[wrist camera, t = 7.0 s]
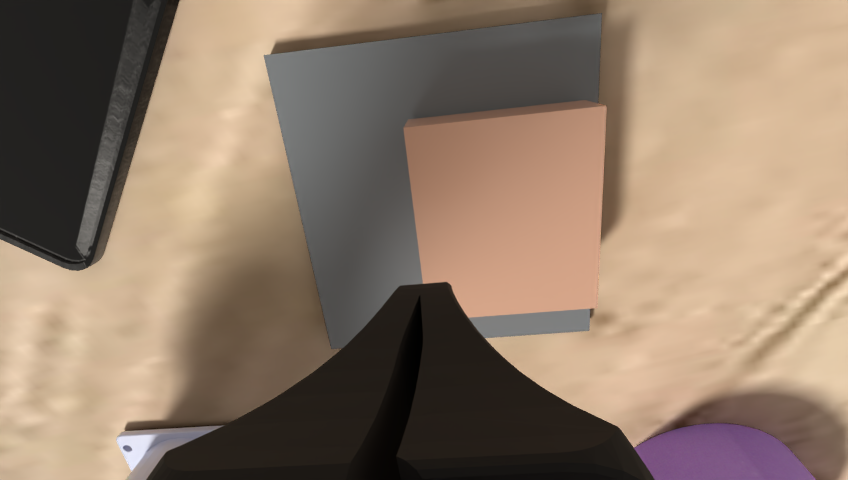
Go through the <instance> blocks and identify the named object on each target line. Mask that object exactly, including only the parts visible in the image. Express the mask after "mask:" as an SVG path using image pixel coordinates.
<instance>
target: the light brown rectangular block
mask: <svg viewBox="0 0 848 480" xmlns="http://www.w3.org/2000/svg"><path fill="white" fill-rule="evenodd" d="M606 111H607V106H606V105H602V104H598V103H595V102H591V101H587V100H580V101H571V102H562V103H553V104H544V105H535V106H526V107H516V108H507V109H498V110H489V111H480V112H471V113H462V114H453V115H444V116H435V117H426V118H416V119H408V121H407V122H406V124H405V126H404V128H403V129H404V137H405V145H406V153H407V161H408V169H409V177H410V185H411V193H412V201H413V208H414V216H415V224H416V232H417V240H418V248H419V256H420V264H421V272H422V280H423V284H426V283H438V282H448V283H449V284H450V285H451V286H452V290H453V293H454V295H455V297H456V299H457V301H458V302H459V304H460V306H461V308H462V309H463V311H464V312H465V314H466V315H467V316H468V318H470V317H484V316H497V315H510V314H524V313H537V312H551V311H564V310H578V309H591V308H597V304H598V282H599V261H600V240H601V218H602V197H603V175H604V154H605V133H606Z"/></svg>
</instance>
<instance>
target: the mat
mask: <svg viewBox="0 0 848 480" xmlns="http://www.w3.org/2000/svg"><path fill="white" fill-rule="evenodd" d="M601 22H602V13H600V14H592V15H584V16H576V17H567V18H559V19H551V20H543V21H535V22H527V23H519V24H511V25H503V26H495V27H487V28H479V29H471V30H463V31H455V32H447V33H439V34H431V35H423V36H415V37H407V38H399V39H391V40H383V41H375V42H367V43H359V44H351V45H343V46H334V47H326V48H318V49H310V50H302V51H294V52H286V53H278V54H270V55H264V59H265V63H266V67H267V72H268V76H269V80H270V85H271V89H272V93H273V98H274V102H275V106H276V111H277V115H278V119H279V124H280V128H281V132H282V137H283V141H284V145H285V150H286V154H287V158H288V163H289V167H290V172H291V176H292V180H293V185H294V189H295V193H296V198H297V202H298V206H299V211H300V215H301V219H302V224H303V228H304V232H305V237H306V241H307V245H308V250H309V254H310V258H311V263H312V267H313V271H314V276H315V280H316V284H317V289H318V293H319V297H320V302H321V306H322V310H323V315H324V319H325V323H326V328H327V332H328V336H329V341H330V345H331V349H337V348H344V347H345V346H346V345H347V344H348V343H349V342H350V341H351V340H352V339H353V338H354V337H355V336H356V335H357V334H358V333H359V332H360V331H361V330H362V329H363V328H364V327H365V326H366V324H367V323H368V322H369V321H370V320H371V319H372V318H373V317H374V315H375V314H376V313H377V312H378V311H379V310H380V308H381V307H382V306H383V305H384V304H385V302H386V301H387V300H388V299H389V297H390V296H391V295H392V294H393V292H394V291H395V290H396V289H397V288H398V287H399V286H401V285H413V284H423V280H422V272H421V264H420V256H419V248H418V240H417V232H416V224H415V216H414V208H413V201H412V193H411V185H410V177H409V169H408V161H407V153H406V145H405V137H404V129H403V128H404V126H405V124H406V122H407V121H408V119H416V118H426V117H435V116H444V115H453V114H462V113H471V112H480V111H489V110H498V109H507V108H516V107H526V106H535V105H544V104H553V103H562V102H571V101H580V100H587V101H591V102H595V103H598V97H599V72H600V47H601ZM469 319H470V321H471V322H472V323H473V325H474V326H475V327H476V329H477V330H478V331H479V332H480V333H481V335H482V336H483V337H484V338H493V337H507V336H522V335H536V334H550V333H564V332H578V331H589V325H590V309H578V310H564V311H551V312H537V313H524V314H510V315H497V316H484V317H470V318H469Z"/></svg>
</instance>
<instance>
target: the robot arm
mask: <svg viewBox="0 0 848 480" xmlns="http://www.w3.org/2000/svg"><path fill="white" fill-rule="evenodd" d="M116 441H117V443H118V445H119V447H120V449H121V451H122V453H123V455H124V457H125V459H126V461H127V463H128V465H129V467H130V469H131V471H132V472H131V473H130V474H129V476H128V477H127V478H126V480H655V479H654V478H653V476H652V474H651V473H650V471H649V470H648V468H647V467H646V465H645V464H644V462H643V461H642V459H641V458H640V456H639V455H638V453H637V452H636V450H635V449H634V448H633V446H632V445H631V443H630V442H629V441H628V439H627V438H626V436H625V435H624V434H623V432H622V431H621V430H620V428H618V427H617V426H615V425H613V424H611V423H609V422H607V421H604V420H602V419H600V418H598V417H596V416H594V415H592V414H590V413H588V412H586V411H583V410H581V409H579V408H577V407H575V406H573V405H571V404H569V403H568V402H566V401H564V400H562V399H561V398H559V397H557V396H556V395H554V394H552V393H550V392H549V391H547V390H545V389H544V388H542V387H541V386H539V385H538V384H537V383H535V382H534V381H532V380H531V379H530V378H528V377H527V376H525V375H524V374H523V373H521V372H520V371H519V370H517V369H516V368H515V367H514V366H513V365H511V364H510V363H509V362H508V361H507V360H506V359H505V358H504V357H502V356H501V355H500V354H499V353H498V352H497V351H496V350H495V349H494V348H493V347H492V346H491V345H490V344H489V343H488V341H487V340H486V339H485V338H484V337H483V336H482V335H481V333H480V332H479V331H478V330H477V329H476V327H475V326H474V325H473V323H472V322H471V321H470V319H469V318H468V316H467V315H466V314H465V312H464V311H463V309H462V308H461V306H460V304H459V302H458V301H457V299H456V297H455V295H454V293H453V290H452V286H451V285H450V284H449V283H448V282H438V283H426V284H413V285H401V286H399V287H398V288H397V289H396V290H395V291H394V292H393V294H392V295H391V296H390V297H389V299H388V300H387V301H386V302H385V304H384V305H383V306H382V307H381V308H380V310H379V311H378V312H377V313H376V314H375V315H374V317H373V318H372V319H371V320H370V321H369V322H368V323H367V324H366V326H365V327H364V328H363V329H362V330H361V331H360V332H359V333H358V334H357V335H356V336H355V337H354V338H353V339H352V340H351V341H350V342H349V343H348V344H347V345H346V346H345V347H344V348H342V349H341V350H340V351H339V352H338V353H337V354H336V355H334V356H333V357H332V358H331V359H330V360H328V361H327V362H326V363H325V364H323V365H322V366H321V367H320V368H318V369H317V370H316V371H314V372H313V373H312V374H310V375H309V376H307V377H306V378H304V379H303V380H301V381H300V382H298V383H297V384H295V385H294V386H292V387H291V388H289V389H288V390H286V391H285V392H283V393H282V394H280V395H279V396H277V397H276V398H274V399H272V400H270V401H269V402H267V403H265V404H264V405H262V406H260V407H258V408H257V409H255V410H253V411H251V412H249V413H247V414H245V415H244V416H242V417H240V418H238V419H236V420H234V421H232V422H230V423H228V424H226V425H222V426H205V427H187V428H170V429H153V430H136V431H123V432H121V433H120V434H119V436H118V437H117V439H116Z"/></svg>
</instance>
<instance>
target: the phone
mask: <svg viewBox="0 0 848 480" xmlns="http://www.w3.org/2000/svg"><path fill="white" fill-rule="evenodd" d="M178 2H179V0H0V239H1V240H3V241H6V242H8V243H10V244H12V245H14V246H17V247H19V248H21V249H23V250H25V251H28V252H30V253H32V254H34V255H36V256H39V257H41V258H43V259H45V260H48V261H50V262H52V263H54V264H56V265H59V266H61V267H63V268H66V269H69V270H77V271H79V270H83V269H86V268H88V267H89V266H91V265H93V264H94V263H96V262H97V261H99V260H100V259H101V258H102V256H103V254H104V251H105V248H106V244H107V241H108V238H109V234H110V231H111V228H112V224H113V221H114V218H115V214H116V211H117V207H118V204H119V201H120V197H121V194H122V191H123V187H124V184H125V181H126V177H127V174H128V170H129V167H130V164H131V160H132V157H133V154H134V150H135V147H136V144H137V140H138V137H139V133H140V130H141V127H142V123H143V120H144V117H145V113H146V110H147V107H148V103H149V100H150V96H151V93H152V90H153V86H154V83H155V80H156V76H157V73H158V70H159V66H160V63H161V60H162V56H163V53H164V49H165V46H166V43H167V39H168V36H169V33H170V29H171V26H172V23H173V19H174V16H175V12H176V9H177V6H178Z"/></svg>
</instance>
